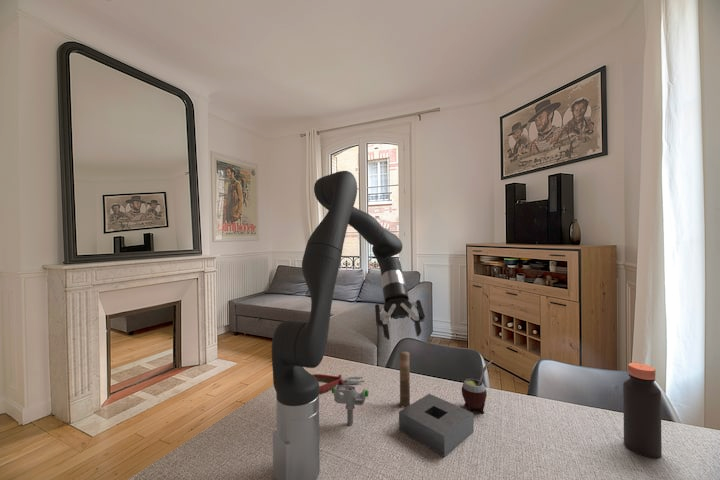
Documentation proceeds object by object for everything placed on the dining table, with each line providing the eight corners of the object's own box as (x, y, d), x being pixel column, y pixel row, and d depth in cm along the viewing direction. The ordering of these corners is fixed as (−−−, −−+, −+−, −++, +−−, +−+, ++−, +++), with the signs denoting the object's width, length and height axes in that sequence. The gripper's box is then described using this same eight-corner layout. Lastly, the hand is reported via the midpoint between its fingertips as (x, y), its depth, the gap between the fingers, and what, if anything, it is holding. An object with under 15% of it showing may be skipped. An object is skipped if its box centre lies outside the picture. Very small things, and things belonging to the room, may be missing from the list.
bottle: (641, 459, 70) (640, 372, 70) (616, 439, 77) (615, 361, 77) (670, 458, 70) (669, 372, 70) (642, 439, 77) (641, 361, 77)
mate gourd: (457, 407, 92) (456, 358, 92) (472, 399, 97) (471, 352, 97) (479, 419, 86) (479, 366, 86) (494, 409, 91) (493, 360, 91)
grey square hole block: (444, 457, 71) (444, 436, 71) (399, 429, 81) (398, 411, 82) (473, 431, 81) (473, 413, 81) (429, 410, 91) (429, 393, 91)
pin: (405, 408, 92) (405, 355, 92) (398, 404, 94) (397, 353, 94) (411, 404, 94) (411, 353, 94) (404, 401, 96) (403, 350, 96)
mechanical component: (367, 429, 82) (367, 392, 82) (331, 425, 84) (330, 389, 84) (369, 422, 85) (368, 387, 85) (334, 418, 87) (333, 384, 87)
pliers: (367, 390, 104) (367, 382, 104) (305, 397, 100) (305, 389, 100) (360, 375, 116) (360, 368, 116) (304, 381, 111) (304, 374, 111)
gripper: (371, 283, 93) (377, 334, 82) (417, 278, 93) (429, 328, 82) (372, 296, 98) (378, 344, 88) (415, 291, 98) (427, 339, 88)
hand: (403, 337), depth 85 cm, fingers open, 8 cm apart
